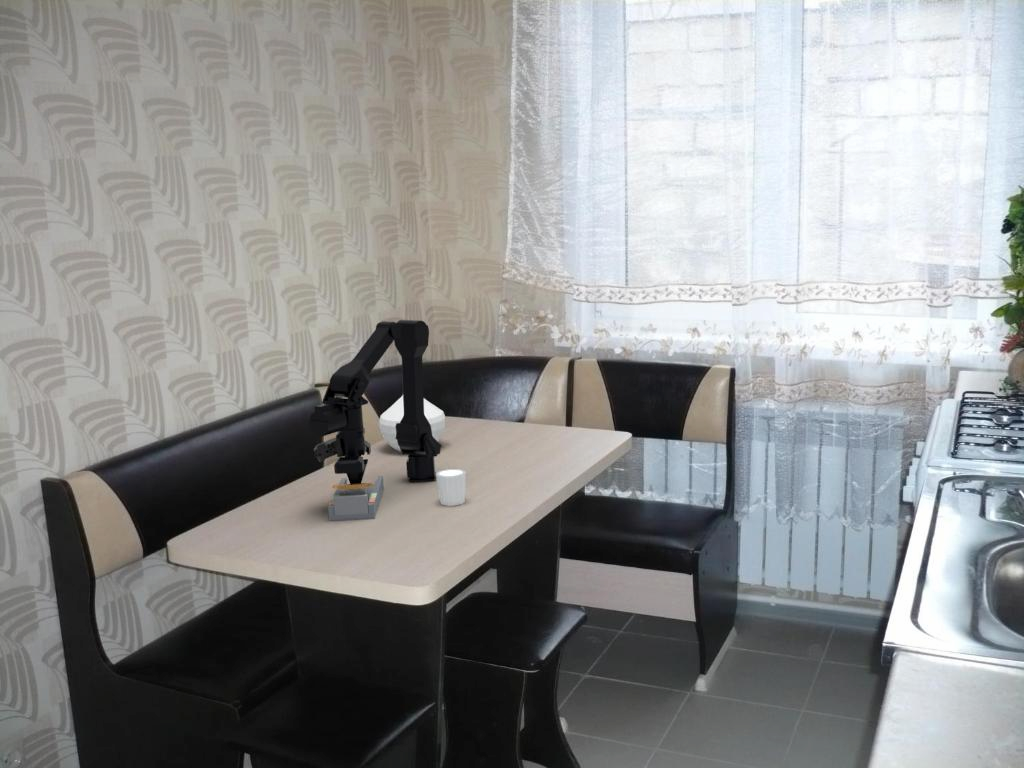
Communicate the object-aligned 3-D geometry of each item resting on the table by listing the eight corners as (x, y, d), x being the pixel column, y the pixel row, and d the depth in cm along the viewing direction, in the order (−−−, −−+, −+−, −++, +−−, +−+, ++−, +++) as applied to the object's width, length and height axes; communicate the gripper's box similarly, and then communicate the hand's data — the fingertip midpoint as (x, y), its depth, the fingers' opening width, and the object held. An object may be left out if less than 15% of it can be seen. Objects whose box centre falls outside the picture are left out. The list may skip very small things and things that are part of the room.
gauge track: (384, 488, 256) (382, 467, 255) (374, 518, 233) (372, 495, 232) (342, 490, 256) (340, 470, 255) (329, 520, 233) (327, 498, 232)
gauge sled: (376, 501, 241) (374, 480, 240) (373, 507, 236) (372, 486, 235) (335, 503, 241) (333, 482, 240) (332, 510, 236) (330, 488, 235)
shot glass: (472, 498, 245) (470, 469, 243) (461, 507, 238) (459, 477, 237) (444, 496, 247) (442, 467, 246) (433, 505, 241) (431, 476, 239)
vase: (460, 443, 296) (456, 376, 292) (420, 459, 281) (415, 389, 277) (408, 437, 306) (403, 372, 302) (367, 453, 291) (362, 384, 287)
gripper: (321, 419, 249) (326, 483, 252) (308, 438, 230) (314, 507, 233) (368, 417, 249) (373, 481, 252) (359, 436, 231) (365, 504, 233)
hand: (355, 493), depth 243 cm, fingers closed
